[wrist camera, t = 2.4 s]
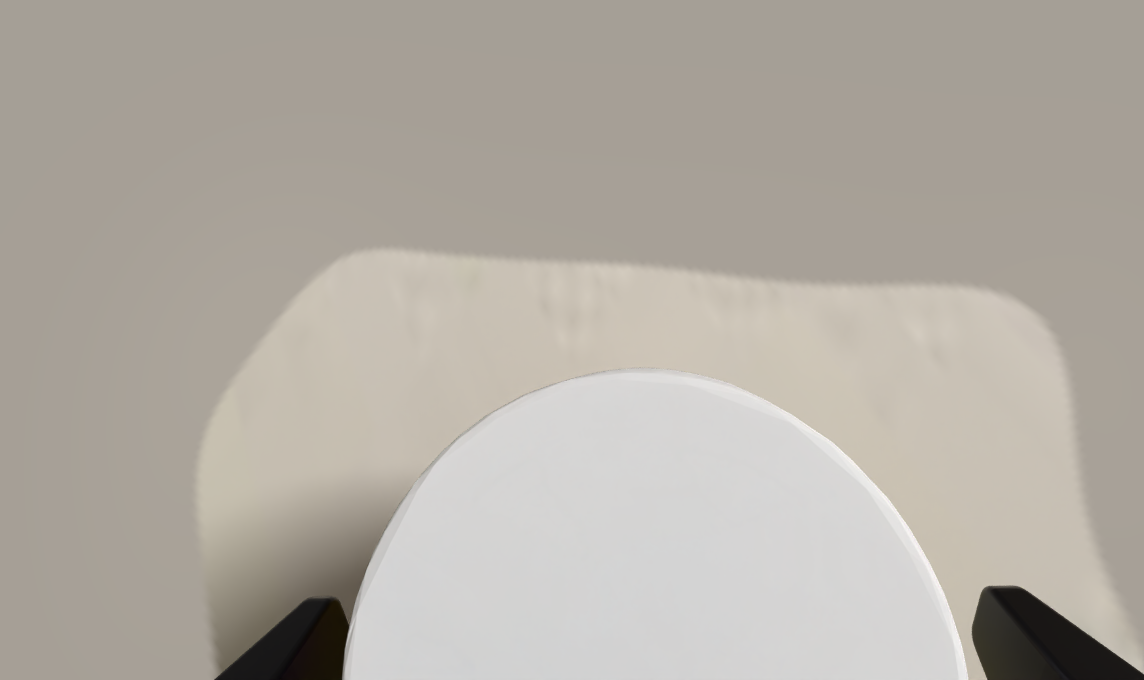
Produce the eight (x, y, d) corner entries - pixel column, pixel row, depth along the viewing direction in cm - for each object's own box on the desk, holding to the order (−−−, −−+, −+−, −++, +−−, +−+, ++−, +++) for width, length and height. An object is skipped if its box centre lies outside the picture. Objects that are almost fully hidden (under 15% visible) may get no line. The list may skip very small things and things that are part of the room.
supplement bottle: (479, 575, 17) (62, 634, 5) (644, 408, 18) (624, 127, 6) (653, 786, 15) (646, 1746, 3) (830, 586, 16) (1375, 701, 4)
